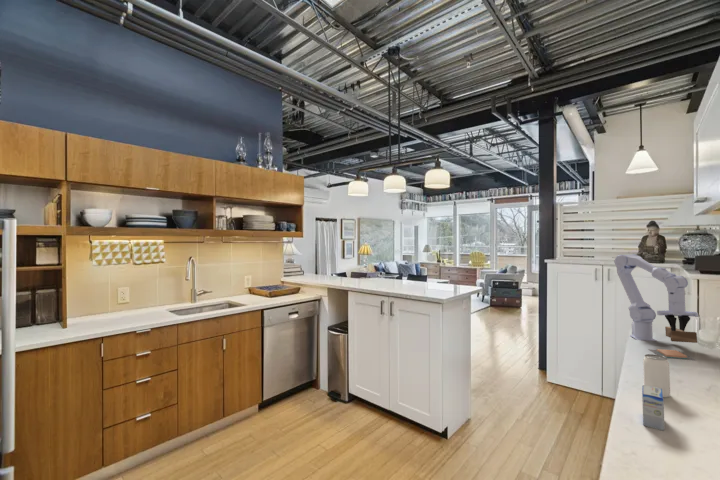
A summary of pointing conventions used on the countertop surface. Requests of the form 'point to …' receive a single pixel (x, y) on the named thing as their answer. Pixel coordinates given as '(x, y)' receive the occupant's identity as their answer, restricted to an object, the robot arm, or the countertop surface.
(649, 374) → the can
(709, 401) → the countertop surface
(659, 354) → the mat
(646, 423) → the medicine box
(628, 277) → the robot arm
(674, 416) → the countertop surface
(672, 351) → the tile
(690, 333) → the wooden t-shaped piece
